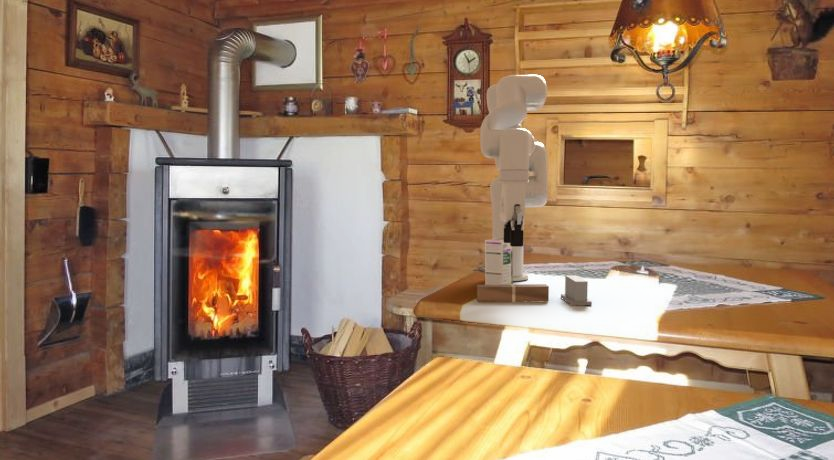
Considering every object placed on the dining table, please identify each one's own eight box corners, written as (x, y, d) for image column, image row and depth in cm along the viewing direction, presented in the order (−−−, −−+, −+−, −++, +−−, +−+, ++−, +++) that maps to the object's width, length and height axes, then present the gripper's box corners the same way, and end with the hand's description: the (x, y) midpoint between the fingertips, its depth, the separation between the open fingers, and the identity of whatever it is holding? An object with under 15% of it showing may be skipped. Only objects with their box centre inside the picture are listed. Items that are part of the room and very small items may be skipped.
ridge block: (560, 297, 187) (561, 275, 186) (579, 297, 187) (579, 275, 187) (571, 305, 176) (572, 282, 176) (591, 305, 176) (592, 281, 176)
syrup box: (502, 292, 195) (503, 240, 193) (484, 290, 198) (484, 238, 197) (512, 289, 199) (513, 238, 198) (494, 287, 203) (495, 237, 202)
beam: (476, 299, 184) (476, 284, 184) (545, 299, 185) (545, 283, 185) (478, 302, 181) (478, 286, 180) (548, 301, 182) (548, 286, 181)
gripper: (493, 177, 188) (493, 241, 190) (505, 177, 171) (504, 247, 172) (521, 177, 189) (521, 241, 190) (535, 177, 172) (534, 247, 173)
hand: (513, 244), depth 181 cm, fingers open, 9 cm apart
